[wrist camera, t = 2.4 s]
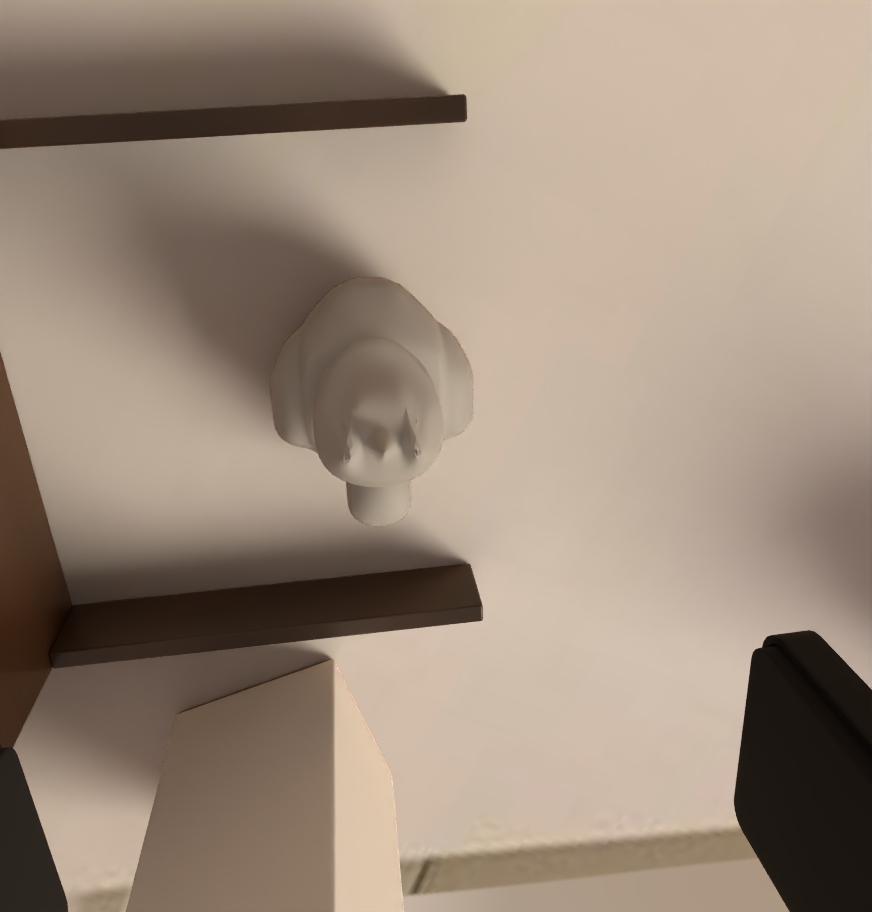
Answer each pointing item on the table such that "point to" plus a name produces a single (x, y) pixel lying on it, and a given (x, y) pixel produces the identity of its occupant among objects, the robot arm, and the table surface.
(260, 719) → the milk
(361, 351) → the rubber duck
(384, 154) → the table surface
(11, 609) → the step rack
